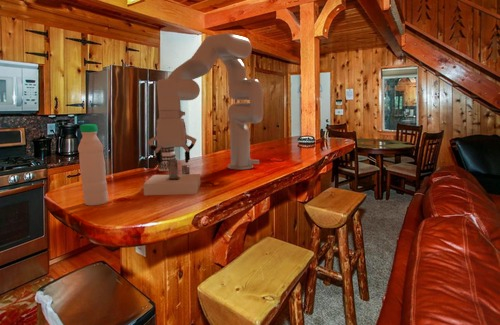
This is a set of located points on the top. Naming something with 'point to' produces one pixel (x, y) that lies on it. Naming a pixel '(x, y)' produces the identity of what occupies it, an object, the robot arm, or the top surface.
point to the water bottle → (92, 166)
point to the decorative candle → (165, 156)
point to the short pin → (185, 169)
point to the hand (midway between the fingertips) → (173, 162)
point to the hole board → (172, 185)
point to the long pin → (173, 169)
